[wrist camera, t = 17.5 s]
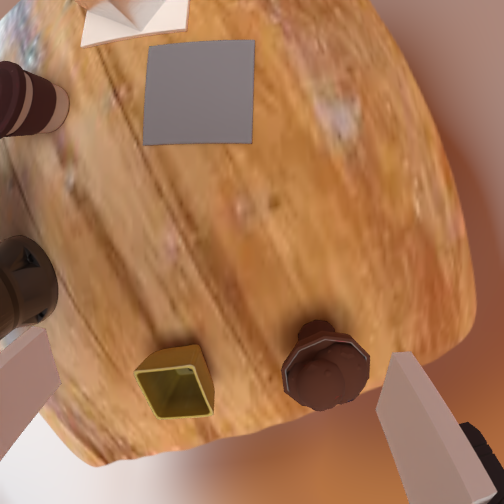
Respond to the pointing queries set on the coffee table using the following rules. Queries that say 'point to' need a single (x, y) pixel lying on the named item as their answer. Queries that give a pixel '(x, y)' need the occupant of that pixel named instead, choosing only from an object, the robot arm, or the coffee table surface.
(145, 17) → the metal cover
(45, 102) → the coffee cup
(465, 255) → the coffee table surface
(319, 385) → the ice cream bowl
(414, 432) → the robot arm
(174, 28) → the serving board
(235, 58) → the rubber mat
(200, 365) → the flower pot
